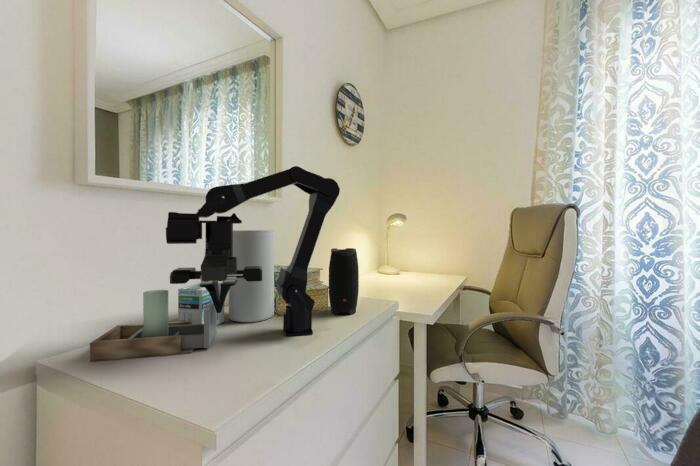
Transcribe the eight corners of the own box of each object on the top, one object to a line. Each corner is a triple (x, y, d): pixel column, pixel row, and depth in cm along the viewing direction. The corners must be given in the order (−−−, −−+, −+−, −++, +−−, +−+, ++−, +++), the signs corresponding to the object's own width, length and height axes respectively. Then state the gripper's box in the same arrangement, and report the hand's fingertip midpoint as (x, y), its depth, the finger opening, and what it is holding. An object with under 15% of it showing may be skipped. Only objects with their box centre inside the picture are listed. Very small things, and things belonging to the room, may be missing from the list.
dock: (202, 334, 75) (202, 320, 75) (191, 353, 65) (191, 335, 64) (117, 341, 71) (117, 325, 71) (90, 361, 60) (90, 342, 60)
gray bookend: (216, 332, 75) (216, 299, 75) (209, 347, 66) (209, 310, 66) (143, 338, 71) (142, 303, 71) (124, 354, 62) (123, 314, 62)
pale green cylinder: (172, 338, 70) (172, 289, 70) (159, 346, 66) (159, 294, 65) (152, 338, 70) (152, 289, 70) (138, 346, 66) (138, 293, 65)
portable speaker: (354, 317, 91) (354, 250, 91) (324, 314, 94) (324, 249, 94) (361, 309, 99) (361, 248, 99) (333, 307, 102) (334, 247, 102)
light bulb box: (201, 333, 76) (201, 289, 76) (176, 332, 77) (176, 288, 77) (225, 321, 87) (225, 282, 87) (203, 319, 88) (203, 281, 88)
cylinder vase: (231, 325, 83) (231, 230, 82) (226, 314, 94) (226, 230, 93) (278, 319, 88) (279, 230, 88) (268, 309, 99) (268, 230, 99)
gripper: (161, 245, 61) (161, 326, 61) (261, 245, 65) (261, 320, 65) (177, 243, 71) (177, 311, 72) (262, 242, 76) (262, 307, 76)
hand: (219, 312), depth 71 cm, fingers closed
